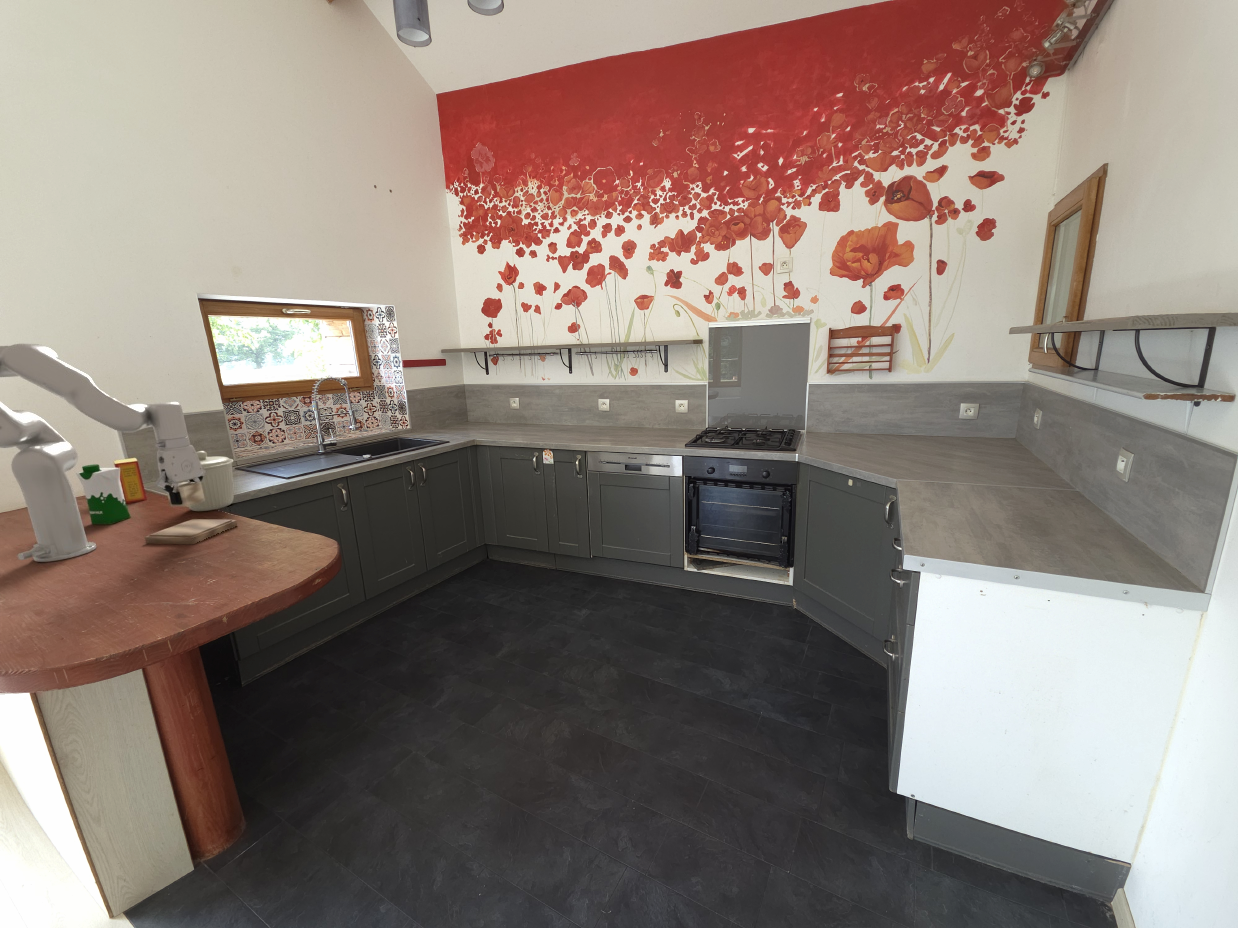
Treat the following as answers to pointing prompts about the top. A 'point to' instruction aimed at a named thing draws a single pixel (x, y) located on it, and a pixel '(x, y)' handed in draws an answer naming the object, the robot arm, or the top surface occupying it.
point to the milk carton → (104, 494)
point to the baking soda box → (131, 480)
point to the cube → (189, 493)
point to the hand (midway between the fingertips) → (187, 500)
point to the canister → (215, 482)
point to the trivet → (190, 531)
